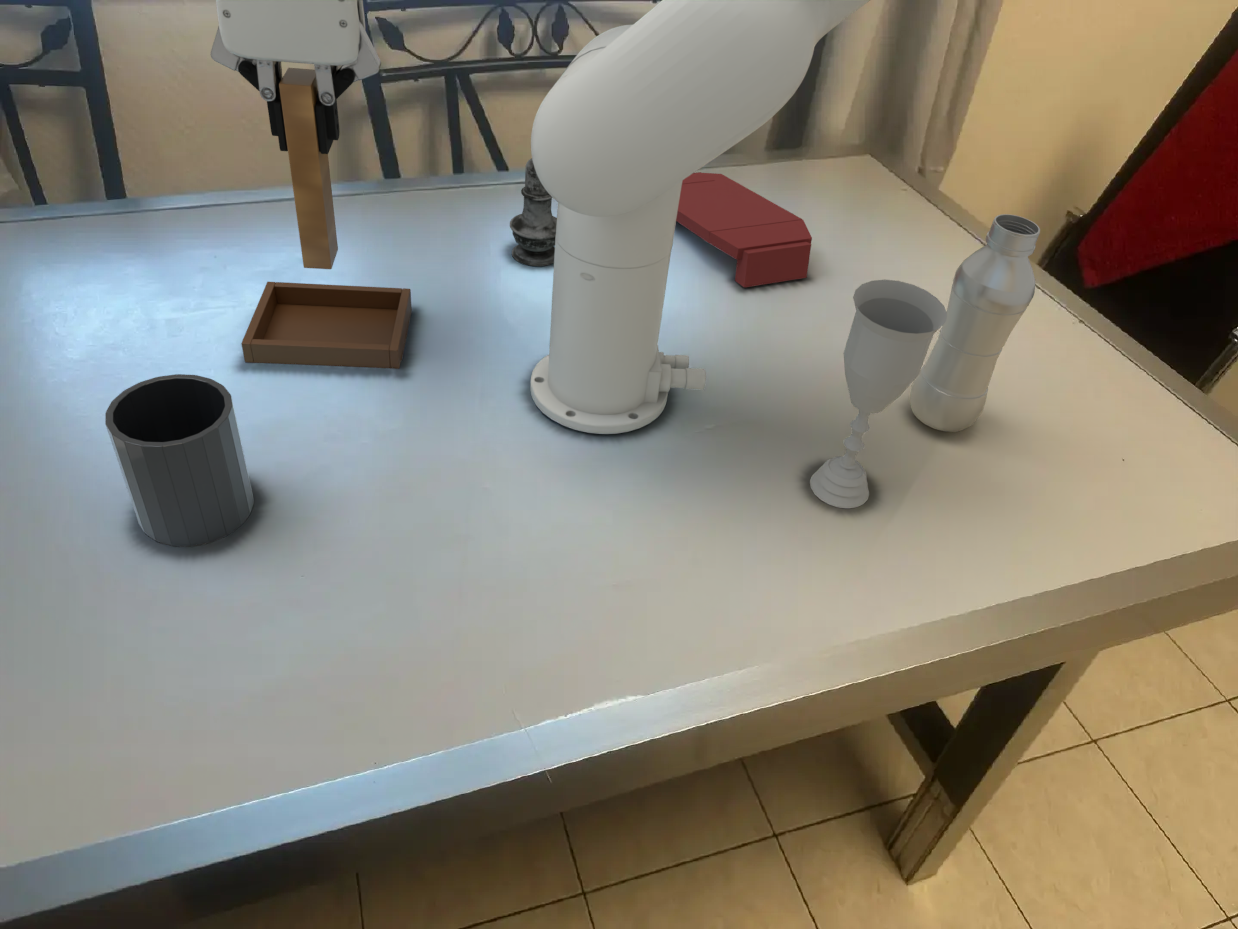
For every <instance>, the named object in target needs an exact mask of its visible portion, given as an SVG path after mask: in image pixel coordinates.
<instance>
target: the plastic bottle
mask: <svg viewBox="0 0 1238 929" xmlns="http://www.w3.org/2000/svg"><path fill="white" fill-rule="evenodd" d="M990 225H991V226H990V229H989V230H988V231H987V233H986V235H985V238H984V239H985V242H986V244H985V245H983V246H982V247H980V248H979V249H977V250H975V251H974V252H973V253H971V254H970V255H969V256H968V257H966V258H965V259H964V260H962V262H961V263H960V265H959V266H958V267H957V268H956V270H955V272H954V276H953V280H952V284H951V285H952V286H951V289H950V293H949V297H948V298H949V299H948V303H947V308H946V312H947V318H946V322H945V323H944V324H943V325H942V327H941V328H940V329H939V334H938V336H937V340H936V341H935V343H934V345H933V347H932V349H931V350H930V353H929V356H928V357H927V359H926V361H925V363H924V364H923V365H922V367H921V370H920V373H919V375H918V376H917V377H916V378H915V379H914V381H913V382H912V383H911V386H910V391H909V392H910V393H909V397H908V398H909V399H908V402H909V406H910V409H911V412H912V414H913V415H914V417H915V418H916V419H918V420H919V421H920V422H921V423H923V424H924V425H925V426H927V427H929V428H932V429H934V430H937V431H940V432H947V433H956V432H960V431H964V430H965V429H967V428H969V427H971V426H973V425H974V424H975V423H976V421H977V420H978V418H979V417H980V416H981V414H982V413H983V411H984V408H985V404H986V401H987V397H988V394H989V385H990V382H991V379H992V376H993V373H994V371H995V367H996V365H997V361H998V358H999V356H1000V355H1001V353H1002V351H1003V348H1004V347H1005V345H1006V343H1007V341H1008V339H1009V337H1010V335H1011V334H1012V332H1013V330H1014V328H1015V327H1016V325H1017V324H1018V322H1019V321H1020V320H1021V318H1022V316H1023V315H1024V313H1025V312H1026V310H1027V308H1028V307H1029V306H1030V303H1031V302H1032V300H1033V298H1034V296H1035V292H1036V291H1035V290H1036V278H1035V274H1034V269H1033V267H1032V264H1031V262H1030V261H1031V260H1030V259H1029V257H1030V256H1031V255H1033V254H1034V253H1035V250H1036V247H1037V245H1036V244H1037V242H1038V239H1039V236H1040V234H1041V228H1040V226H1039V225H1038V224H1037V223H1036V222H1034V221H1032V220H1031V219H1028V218H1027V217H1023V216H1020V215H1017V214H1009V213H1001V214H998V215H996V216H995V217H994V218H993V220H992V223H991V224H990Z"/></svg>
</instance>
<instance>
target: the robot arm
mask: <svg viewBox="0 0 1238 929" xmlns="http://www.w3.org/2000/svg"><path fill="white" fill-rule="evenodd" d="M870 1H871V0H661V1H659V2H658V3H657V4H656V5H655V6H653V7H652V8H651V9H650V10H649V11H647V12H646V13H645V14H644V15H643V16H642V17H640V19H638V20H637V21H636V22H634V23H633V24H624V25H619V26H616V27H611V28H610V29H608V30H605V31H603V32H602V33H600V34H598V35H596V36H595V37H594V38H592V39H591V40H590V41H589V42H588V43H587V44H585V46H583V47H582V49H581V50H580V51H578V53H577V54H576V55H575V57H574V58H573V60H572V61H571V62H570V63H569V64H568V66H567V67H566V68H565V70H564V71H563V72H562V74H561V75H560V77H559V78H558V79H557V81H556V82H555V83H554V84H553V86H552V87H551V88H550V90H549V91H548V92H547V94H546V95H545V96H544V98H543V99H542V101H541V103H540V105H539V107H538V108H537V109H538V110H537V111H536V114H535V116H534V120H533V123H532V129H531V134H530V154H531V158H532V160H533V164H534V168H535V170H536V173H537V176H538V178H539V180H540V182H541V183H542V185H543V187H544V188H545V189H546V191H547V192H548V193H549V194H550V195H551V196H552V199H554V200H555V201H556V202H557V209H556V213H557V214H556V218H557V225H556V236H555V245H554V247H555V254H554V263H553V275H552V276H553V277H552V290H551V291H552V292H551V293H552V294H551V309H550V310H551V312H550V330H549V350H548V354H547V355H545V356H544V357H542V358H541V359H540V361H538V362H537V363H536V364H535V366H534V367H533V369H532V372H531V374H530V375H531V376H530V384H529V385H530V386H529V390H530V396H531V398H532V401H533V403H534V404H535V406H536V407H537V408H538V409H539V410H540V412H542V414H544V415H545V416H546V417H548V418H549V419H551V420H552V421H554V422H556V423H557V424H559V425H561V426H563V427H566V428H569V429H571V430H574V431H579V432H584V433H588V434H598V435H616V434H621V433H628V432H631V431H636V430H638V429H639V430H640V429H641V428H644V427H645V426H647V425H649V424H652V423H653V422H654V421H655V420H656V419H658V417H660V415H661V414H662V412H663V411H664V410H665V407H666V404H667V401H668V394H669V392H670V390H671V389H683V390H695V391H696V390H698V391H705V389H706V383H707V372H706V369H705V368H700V367H699V368H697V367H696V368H694V367H690V356H689V354H688V355H687V354H673V355H672V354H671V355H669V354H664V353H665V352H664V351H660V350H659V338H660V332H661V325H662V318H663V310H664V304H665V298H666V290H667V283H668V276H669V271H670V270H669V268H670V261H671V255H672V250H673V243H674V238H675V231H676V223H677V221H676V218H677V211H678V205H679V199H680V193H681V187H682V181H683V180H684V179H685V178H687V177H688V176H690V175H691V174H693V173H697V172H698V170H700V169H702V168H703V167H704V166H706V165H708V164H709V163H711V162H712V161H713V160H715V159H716V158H717V157H719V156H720V155H722V154H724V153H725V152H726V151H728V150H730V149H731V148H733V147H734V146H736V145H737V144H738V143H740V142H741V141H742V140H744V139H746V138H747V137H748V136H750V135H751V134H752V133H754V132H756V131H757V130H758V129H760V127H762V126H763V125H765V124H766V123H768V121H769V120H770V119H772V118H773V117H774V116H775V115H776V114H777V113H779V112H780V110H781V109H783V107H784V106H785V105H786V104H787V103H788V102H789V101H790V99H791V98H792V97H793V96H794V95H795V94H796V92H797V90H798V88H799V87H800V86H801V84H802V83H803V81H804V79H805V78H806V75H807V73H808V70H809V68H810V65H811V62H812V59H813V55H814V51H815V47H816V46H817V43H819V41H820V40H821V39H822V38H823V37H824V36H825V35H827V34H828V33H829V32H830V31H831V30H833V29H834V28H835V27H837V26H838V25H839V24H841V23H843V21H844V20H846V19H847V18H849V17H850V16H851V15H852V14H854V13H855V12H856V11H858V10H859V9H861V8H862V7H863V6H865V5H866V4H868V3H869V2H870ZM215 6H216V16H217V22H218V26H217V30H216V33H215V36H214V39H213V43H212V46H211V49H210V57H211V59H212V60H213V61H214V62H216V63H218V64H220V65H222V66H224V67H225V68H228V69H230V70H231V71H234V72H238V73H239V74H240V76H241V77H243V78H244V79H245V80H246V81H247V82H248V83H249V84H251V86H252V87H253V88H255V89H256V90H257V91H258V92H259V96H260V97H261V99H262V100H264V101H265V102H266V105H267V106H266V107H267V112H268V119H269V120H268V121H269V127H270V133H271V136H272V137H277V139H278V146H279V150H280V152H288V148H287V140H286V133H285V126H284V118H283V111H282V104H281V96H280V89H279V83H280V81H281V80H282V78H283V69H282V68H283V67H282V63H293V64H305V65H306V64H307V65H314V66H313V67H314V70H315V74H316V81H317V87H318V93H317V102H316V104H315V106H314V111H315V120H316V129H317V138H318V147H319V152H321V154H328V155H329V153H330V151H331V148H332V146H333V143H334V141H339V138H340V134H341V133H340V121H339V120H340V119H339V111H338V101H337V100H338V98H340V96H342V95H343V94H344V93H345V91H346V90H347V89H349V88H350V87H351V86H352V84H353V83H355V82H358V81H362V80H365V79H367V78H369V77H372V76H375V75H376V74H378V73H379V72H380V69H381V66H382V61H381V59H380V57H379V55H378V53H377V50H376V49H375V47H374V45H373V43H372V41H371V39H370V37H369V35H368V32H367V30H366V18H365V9H364V0H215ZM339 66H340V67H339Z"/></svg>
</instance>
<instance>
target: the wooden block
mask: <svg viewBox="0 0 1238 929" xmlns="http://www.w3.org/2000/svg"><path fill="white" fill-rule="evenodd" d="M279 89H280V96H281V104H282V111H283V118H284V126H285V133H286V140H287V148H288V151H287V154H288V155H287V156H288V162H289V169H290V176H291V183H292V191H293V192H292V193H293V198H294V205H295V213H296V222H297V229H298V234H299V242H300V250H301V257H302V265H303V268H304V269H316V270H317V269H318V270H332V269H333V266H334V263H335V261H336V257H337V254H338V252H339V251H338V250H339V244H338V234H337V227H336V218H335V217H336V216H335V210H334V208H335V207H334V199H333V189H332V181H331V179H332V178H331V170H330V162H329V161H330V160H329V153H328V154H321V152H319V147H318V138H317V129H316V120H315V111H314V106H315V104H316V102H317V93H318V87H317V81H316V74H315V69H313V68H312V69H311V68H299V67H287V70H285V72H284V74H283V75H282V80H281V81H280V83H279Z"/></svg>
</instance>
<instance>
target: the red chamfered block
mask: <svg viewBox="0 0 1238 929" xmlns="http://www.w3.org/2000/svg"><path fill="white" fill-rule="evenodd" d="M676 223H679V224H680V225H681V226H683V227H684V228H686V230H689V231H690V232H691V233H693V234H695V235H696V236H698V237H699V238H701V239H702V240H703V241H705V243H708V244H710V245H711V246H713V247H715V248H716V249H718V250H719V251H721V252H723V253H724V254H726V255H728V256H730V257H731V258H733V259H735V260H736V265H735V266H736V268H735V277H734V281H735V282H736V283H737V284H739V285H740V286H741V287H743V288H750V287H751V288H752V287H755V286H763V285H768V284H776V283H781V282H782V283H783V282H787V281H795V280H802V279H806V278H808V271H809V263H810V257H811V256H810V255H811V249H812V240H813V237H812V235H811V232H810V231H809V228H808V227H807V225H806V222H805V220H804V219H802V218H801V217H799V216H798V215H796V214H794V213H793V212H790V211H789V210H787V209H785V208H783V207H781V206H780V205H778V204H776V203H775V202H772V201H771V200H769V199H767V198H766V197H764V196H762V195H761V194H758V193H756V191H753V190H751V189H749V188H748V187H746V186H745V185H742V184H740V183H739V182H737V181H735V180H734V179H732V178H729V177H728V176H726V175H724V174H723V173H714V172H701V171H697V172H694V173H693V174H691V175H690V176H688V177H687V178H685V179H684V180H683V181H682V187H681V193H680V199H679V205H678V211H677V218H676Z"/></svg>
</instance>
